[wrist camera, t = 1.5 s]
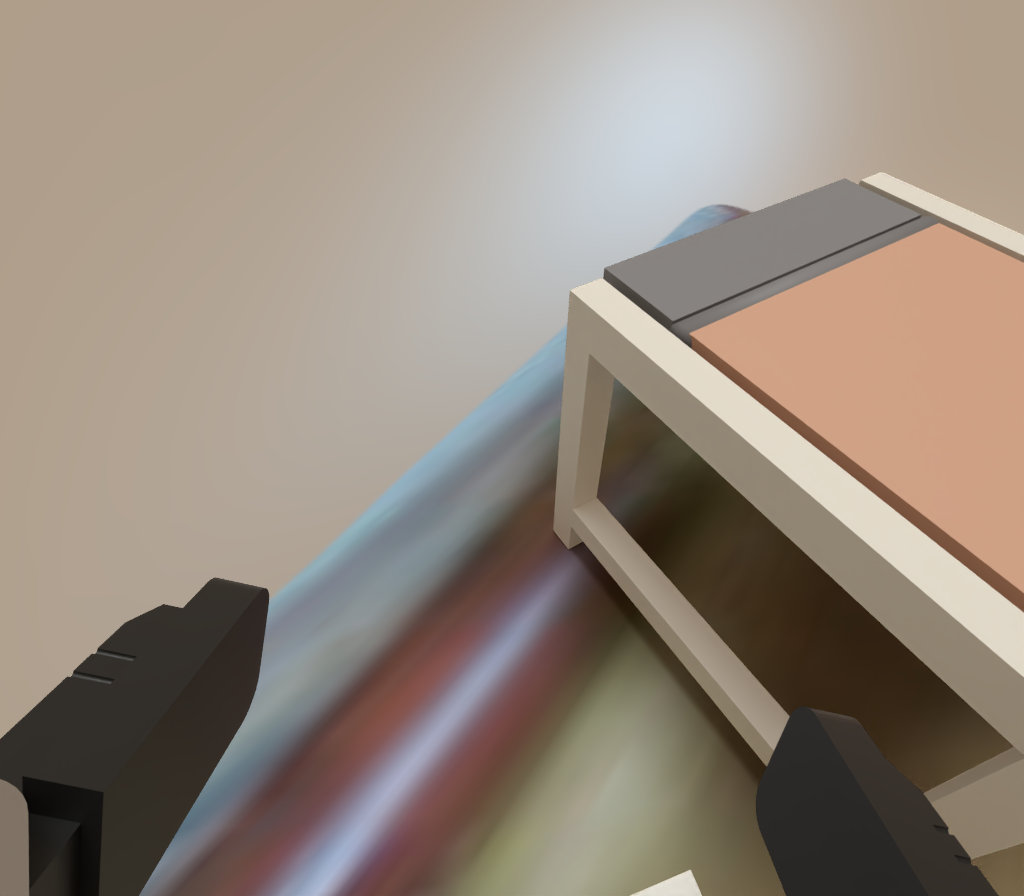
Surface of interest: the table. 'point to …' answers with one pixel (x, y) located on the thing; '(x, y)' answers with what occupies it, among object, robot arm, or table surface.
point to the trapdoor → (868, 353)
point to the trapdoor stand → (795, 533)
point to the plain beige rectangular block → (674, 887)
